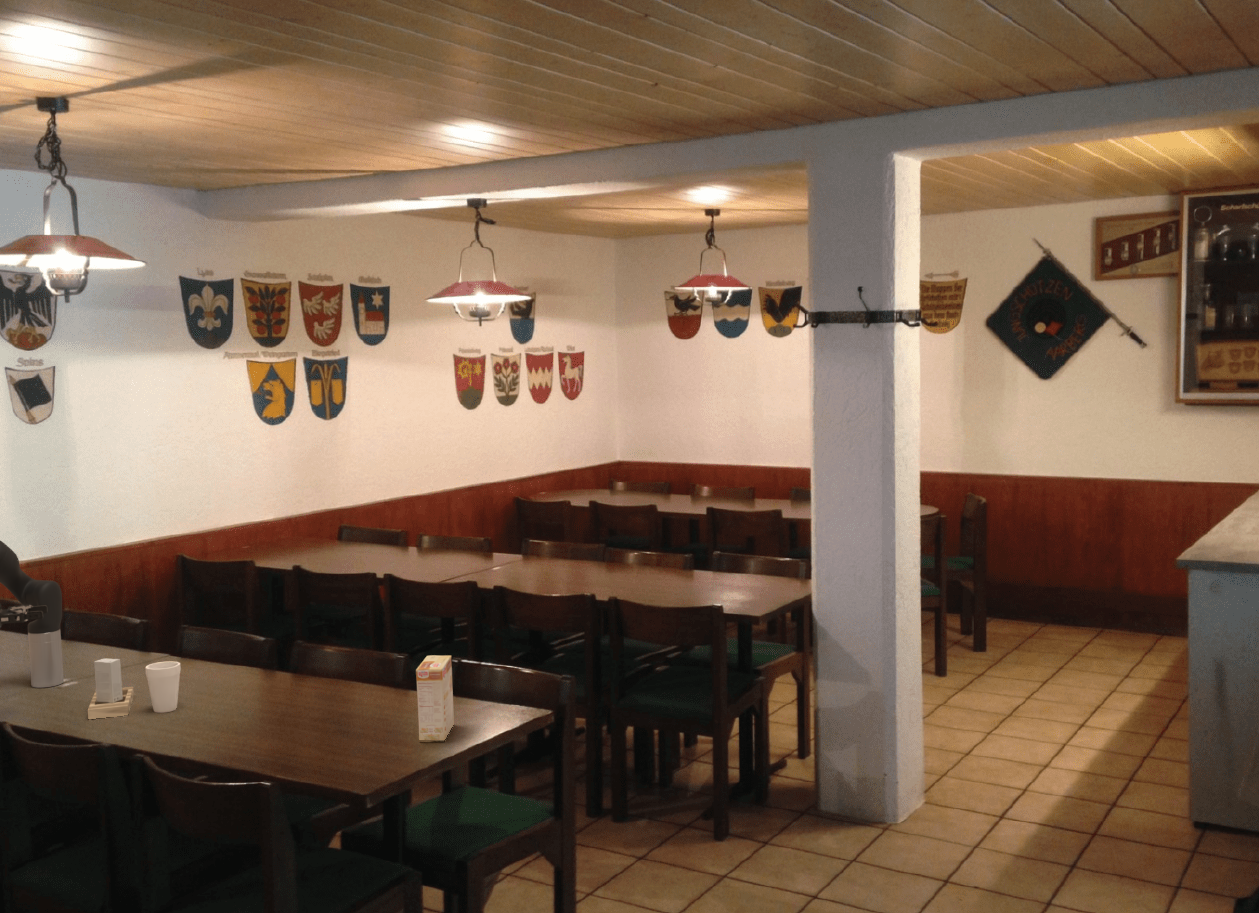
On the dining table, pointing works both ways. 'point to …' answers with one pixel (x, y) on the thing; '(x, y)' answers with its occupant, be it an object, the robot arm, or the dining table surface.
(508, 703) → the dining table surface
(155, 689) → the foam cup
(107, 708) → the wooden crate
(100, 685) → the skincare box
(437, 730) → the coffeecake box
